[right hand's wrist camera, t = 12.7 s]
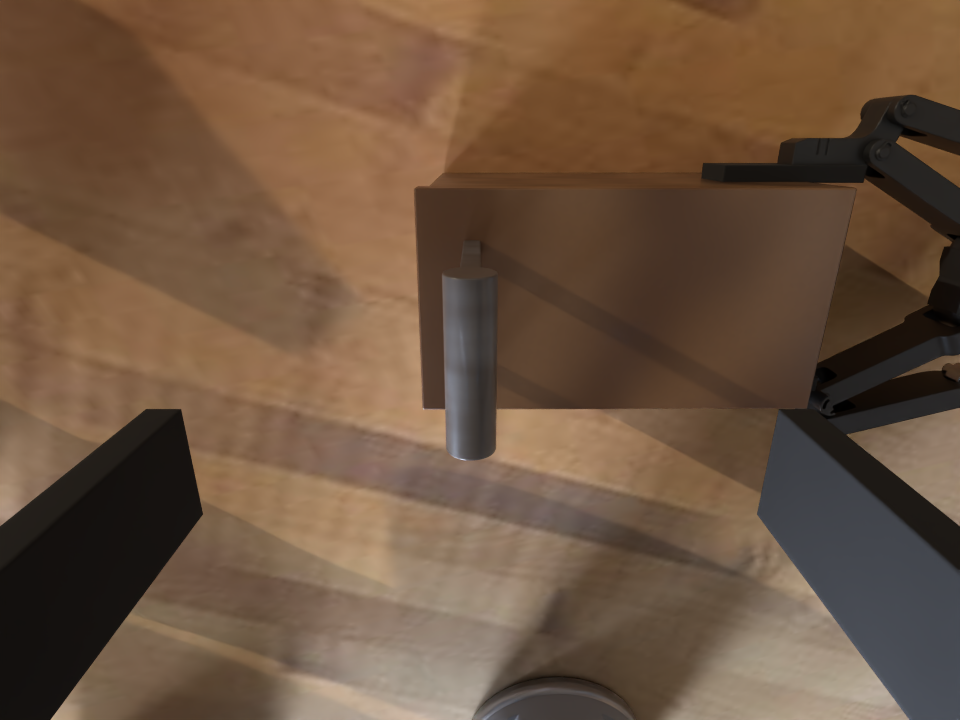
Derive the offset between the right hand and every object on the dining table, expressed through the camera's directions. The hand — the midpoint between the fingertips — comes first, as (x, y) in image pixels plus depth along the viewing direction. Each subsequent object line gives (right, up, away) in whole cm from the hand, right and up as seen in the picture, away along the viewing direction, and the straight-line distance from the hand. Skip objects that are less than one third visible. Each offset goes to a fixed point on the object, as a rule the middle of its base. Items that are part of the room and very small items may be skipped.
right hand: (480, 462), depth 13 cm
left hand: (+11, +6, +16) cm, 21 cm away
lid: (+6, +5, +13) cm, 15 cm away
